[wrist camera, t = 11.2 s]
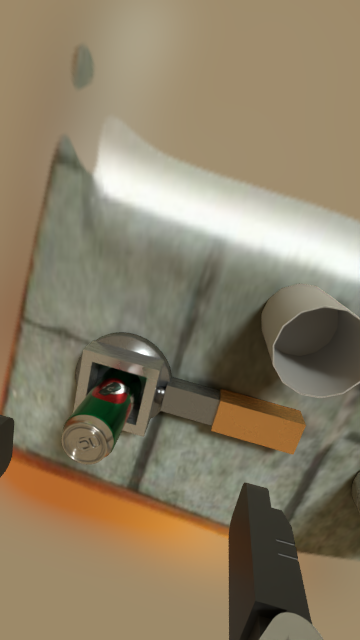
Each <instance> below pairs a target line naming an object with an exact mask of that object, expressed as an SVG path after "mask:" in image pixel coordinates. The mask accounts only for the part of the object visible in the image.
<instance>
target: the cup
mask: <svg viewBox="0 0 360 640" xmlns="http://www.w3.org/2000/svg"><path fill="white" fill-rule="evenodd" d="M261 322H262V332H263V335H264V339H265V342H266V345H267V348H268V351H269V354H270V358H271V361H272V364H273V366H274V368H275V370H276V372H277V373H278V375H279V377H280V379H281V381H282V382H283V383H284V384H285V385H287V386H288V387H290V388H291V389H293V390H294V391H296V392H297V393H299V394H301V395H307V396H312V397H317V398H324V397H329V396H334V395H339V394H344V393H345V392H347V391H348V390H350V389H351V388H353V387H354V386H356V385H357V384H359V383H360V318H359V317H358V316H357V315H355V314H354V313H353V312H351V311H350V310H349V309H347V308H346V307H345V306H343V305H342V304H341V303H339V302H338V301H337V300H335V299H334V298H333V297H331V296H330V295H328V294H327V293H326V292H324V291H323V290H321V289H320V288H319V287H317V286H313V285H307V284H300V283H299V284H295V285H291V286H288V287H284V288H281V289H280V290H279V291H278V292H277V293H275V294H274V295H273V296H272V297H270V298H269V299H268V301H267V303H266V305H265V307H264V309H263V311H262V314H261Z"/></svg>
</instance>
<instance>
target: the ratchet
mask: <svg viewBox="0 0 360 640" xmlns="http://www.w3.org/2000/svg"><path fill="white" fill-rule="evenodd" d="M110 368H116V369H119V370H123V371H126V372H130V373H133V374H137V375H138V377H139V379H140V381H141V385H142V389H141V393H140V395H139V397H138V400H137V402H136V404H135V406H134V408H133V410H132V412H131V414H130V416H129V418H128V420H127V422H126V424H125V426H124V428H123V431H126V432H130V433H133V434H136V435H140V436H143V437H144V434H145V432H146V429H147V427H148V424H149V421H150V419H151V418H153V417H154V416H156V415H157V414H158V413H159V412H160V411H163V412H166V413H170V414H173V415H177V416H180V417H183V418H187V419H190V420H194V421H197V422H201V423H204V424H208V425H211V431H214V432H217V433H221V434H224V435H227V436H231V437H234V438H238V439H241V440H245V441H248V442H252V443H255V444H258V445H262V446H265V447H269V448H272V449H276V450H279V451H283V452H286V453H289V454H294V452H295V449H296V447H297V445H298V442H299V440H300V438H301V435H302V433H303V431H304V428H305V426H306V425H305V422H304V419H303V417H302V414H301V411H299V410H295V409H292V408H288V407H285V406H281V405H277V404H274V403H270V402H267V401H263V400H260V399H256V398H253V397H249V396H246V395H242V394H239V393H235V392H232V391H228V390H224V389H221V390H216V389H213V388H209V387H206V386H202V385H199V384H195V383H192V382H188V381H185V380H181V379H178V378H174V377H172V375H171V370H170V366H169V364H168V361H167V359H166V358H165V356H164V355H163V353H162V352H161V351H160V350H159V349H158V347H157V346H155V345H154V344H153V343H152V342H150V341H149V340H147V339H145V338H143V337H141V336H138V335H135V334H131V333H124V332H119V333H111V334H108V335H104V336H102V337H100V338H99V339H97V340H96V341H95V340H93V341H92V342H91V343H90V344H89V345H88V346H87V347H85V348H84V349H83V353H82V355H81V357H80V358H79V361H78V363H77V368H76V383H77V392H76V398H75V404H74V410H73V412H74V411H75V410H76V409H77V407H78V406H79V405H80V403H81V402H82V401H83V400H84V398H85V397H86V396H87V395H88V393H89V392H90V391H91V390H92V388H93V387H94V386H95V385H96V383H97V382H98V381H99V379H100V378H101V377H102V376H103V374H104V373H105V372H106V371H107V370H108V369H110Z"/></svg>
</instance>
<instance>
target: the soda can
mask: <svg viewBox="0 0 360 640" xmlns="http://www.w3.org/2000/svg"><path fill="white" fill-rule="evenodd" d="M141 389H142V385H141V381H140V379H139V377H138V375H137V374H133V373H130V372H126V371H123V370H119V369H116V368H110V369H108V370H107V371H106V372H105V373H104V374H103V376H102V377H101V378H100V379H99V381H98V382H97V383H96V385H95V386H94V387H93V388H92V390H91V391H90V392H89V393H88V395H87V396H86V397H85V398H84V400H83V401H82V402H81V403H80V405H79V406H78V407H77V409H76V410H75V411H74V412H73V414H72V415H71V416H70V417H69V419H68V420H67V421H66V423H65V425H64V427H63V434H62V438H61V442H62V447H63V449H64V451H65V453H66V454H67V455H68V456H69V457H70V458H71V459H73V460H74V461H76V462H79V463H82V464H95V463H97V462H99V461H101V460H102V459H103V458H104V457H106V456H108V455H109V454H110V453H111V452H112V450H113V448H114V446H115V444H116V442H117V440H118V438H119V436H120V434H121V432H122V430H123V428H124V426H125V424H126V422H127V420H128V418H129V416H130V414H131V412H132V410H133V408H134V406H135V404H136V402H137V400H138V397H139V395H140V393H141Z"/></svg>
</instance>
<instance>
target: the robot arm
mask: <svg viewBox="0 0 360 640" xmlns="http://www.w3.org/2000/svg"><path fill="white" fill-rule="evenodd" d="M13 434H14V420H13V418H10V417H6V416H2V415H0V477H1V476H2V475H3V474H4V472H5V471H6V469H7V467H8V465H9V463H10V461H11V457H12V449H13ZM351 492H352V497H353V500H354V502H355V504H356V506H357V509H358V511H359V513H360V472H359V473H358V474H357V476H356V477H355V479H354V481H353V484H352V491H351ZM229 640H323V638H322V637H321V635H320V633H319V632H318V631H317V630H316V628H315V627H314V626H313V625H312V622H311V618H310V613H309V609H308V604H307V599H306V594H305V589H304V585H303V580H302V575H301V570H300V566H299V562H298V556H297V551H296V547H295V542H294V537H293V532H292V527H291V525H290V524H289V522H288V520H287V519H286V517H285V515H284V513H283V512H282V511H281V510H278V509H274V508H271V503H270V497H269V491H268V489H267V488H263V487H260V486H256V485H252V484H249V483H244V484H243V486H242V489H241V492H240V495H239V498H238V501H237V504H236V506H235V509H234V512H233V515H232V519H231V523H230V529H229Z"/></svg>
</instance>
